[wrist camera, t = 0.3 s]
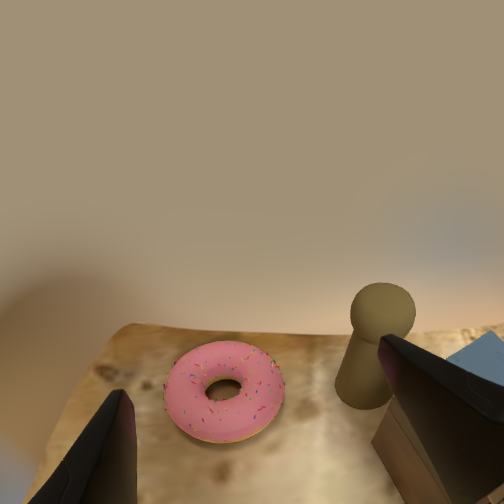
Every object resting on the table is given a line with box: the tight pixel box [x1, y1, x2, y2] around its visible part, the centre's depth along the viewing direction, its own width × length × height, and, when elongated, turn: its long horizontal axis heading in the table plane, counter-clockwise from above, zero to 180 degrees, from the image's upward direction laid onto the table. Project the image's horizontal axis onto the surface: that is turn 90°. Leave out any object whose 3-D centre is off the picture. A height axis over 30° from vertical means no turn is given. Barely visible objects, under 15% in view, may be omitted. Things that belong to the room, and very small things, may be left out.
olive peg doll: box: [335, 283, 416, 409], centre depth 23 cm, size 6×6×11 cm
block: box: [446, 330, 504, 386], centre depth 14 cm, size 5×5×5 cm
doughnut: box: [163, 340, 285, 443], centre depth 25 cm, size 11×11×4 cm
